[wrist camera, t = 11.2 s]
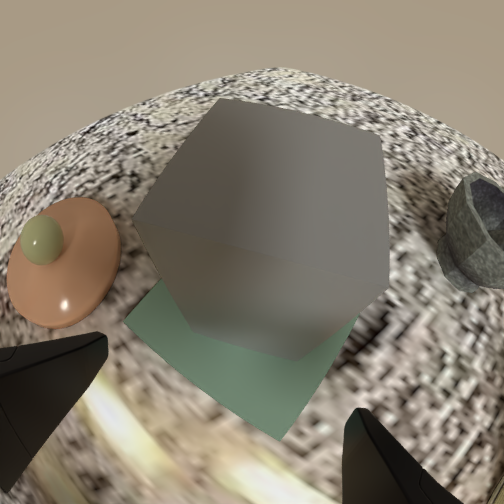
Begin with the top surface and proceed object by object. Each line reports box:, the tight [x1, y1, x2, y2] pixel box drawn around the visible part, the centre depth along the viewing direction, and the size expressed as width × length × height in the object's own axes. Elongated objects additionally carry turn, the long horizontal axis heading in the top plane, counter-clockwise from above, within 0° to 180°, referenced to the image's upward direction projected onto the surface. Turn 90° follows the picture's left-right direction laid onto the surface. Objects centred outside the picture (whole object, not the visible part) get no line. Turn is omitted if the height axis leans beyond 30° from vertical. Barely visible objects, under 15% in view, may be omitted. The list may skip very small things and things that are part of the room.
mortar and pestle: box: [437, 172, 504, 293], centre depth 14 cm, size 11×9×12 cm
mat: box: [123, 278, 360, 441], centre depth 17 cm, size 13×12×1 cm
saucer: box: [7, 197, 121, 329], centre depth 16 cm, size 11×11×5 cm
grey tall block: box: [132, 98, 390, 361], centre depth 12 cm, size 6×6×11 cm
